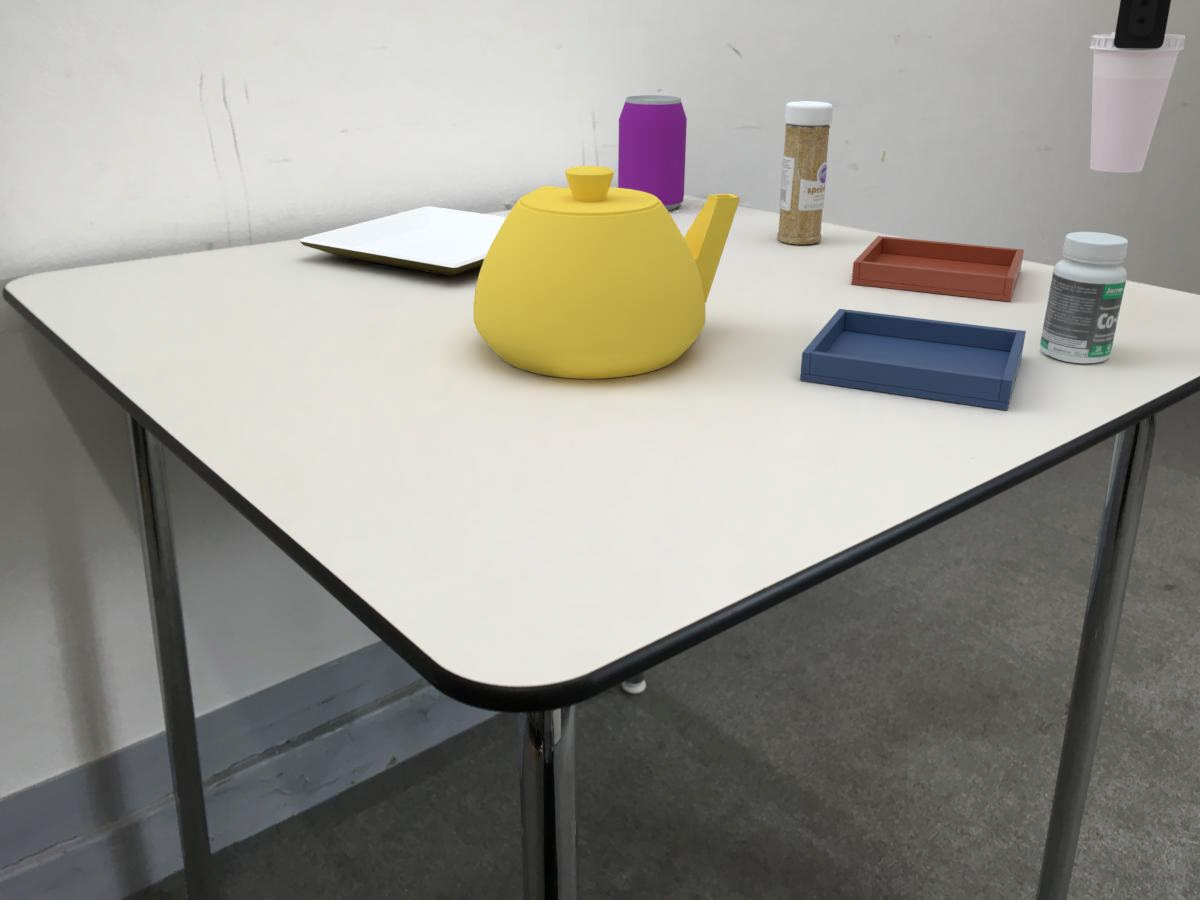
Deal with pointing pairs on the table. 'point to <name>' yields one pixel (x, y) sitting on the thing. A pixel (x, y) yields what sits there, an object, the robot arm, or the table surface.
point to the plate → (416, 240)
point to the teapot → (598, 279)
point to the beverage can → (653, 147)
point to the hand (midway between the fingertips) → (1137, 43)
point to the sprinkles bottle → (804, 171)
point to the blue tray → (916, 358)
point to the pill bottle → (1085, 298)
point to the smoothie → (1127, 100)
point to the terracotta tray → (939, 268)
